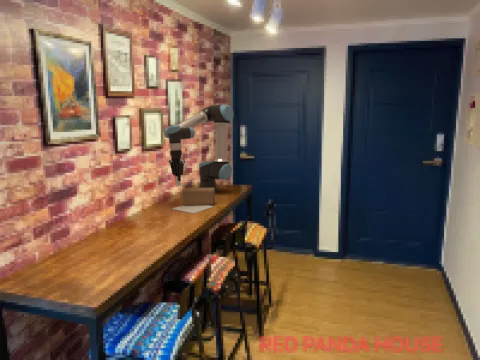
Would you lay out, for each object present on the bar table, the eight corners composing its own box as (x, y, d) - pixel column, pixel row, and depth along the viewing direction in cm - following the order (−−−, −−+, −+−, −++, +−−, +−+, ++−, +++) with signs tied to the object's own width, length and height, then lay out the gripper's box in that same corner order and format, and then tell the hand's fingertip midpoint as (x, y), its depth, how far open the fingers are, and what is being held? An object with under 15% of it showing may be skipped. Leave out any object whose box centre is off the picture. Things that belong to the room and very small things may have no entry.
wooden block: (185, 202, 250) (215, 201, 249) (183, 205, 240) (213, 205, 240) (185, 187, 248) (214, 187, 248) (182, 190, 239) (213, 189, 238)
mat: (192, 203, 249) (192, 202, 249) (214, 206, 236) (214, 206, 236) (171, 209, 235) (171, 208, 235) (193, 213, 223) (193, 213, 223)
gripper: (164, 150, 238) (167, 186, 242) (178, 150, 230) (181, 187, 234) (173, 148, 243) (176, 183, 248) (187, 149, 235) (189, 185, 240)
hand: (178, 185), depth 241 cm, fingers closed
